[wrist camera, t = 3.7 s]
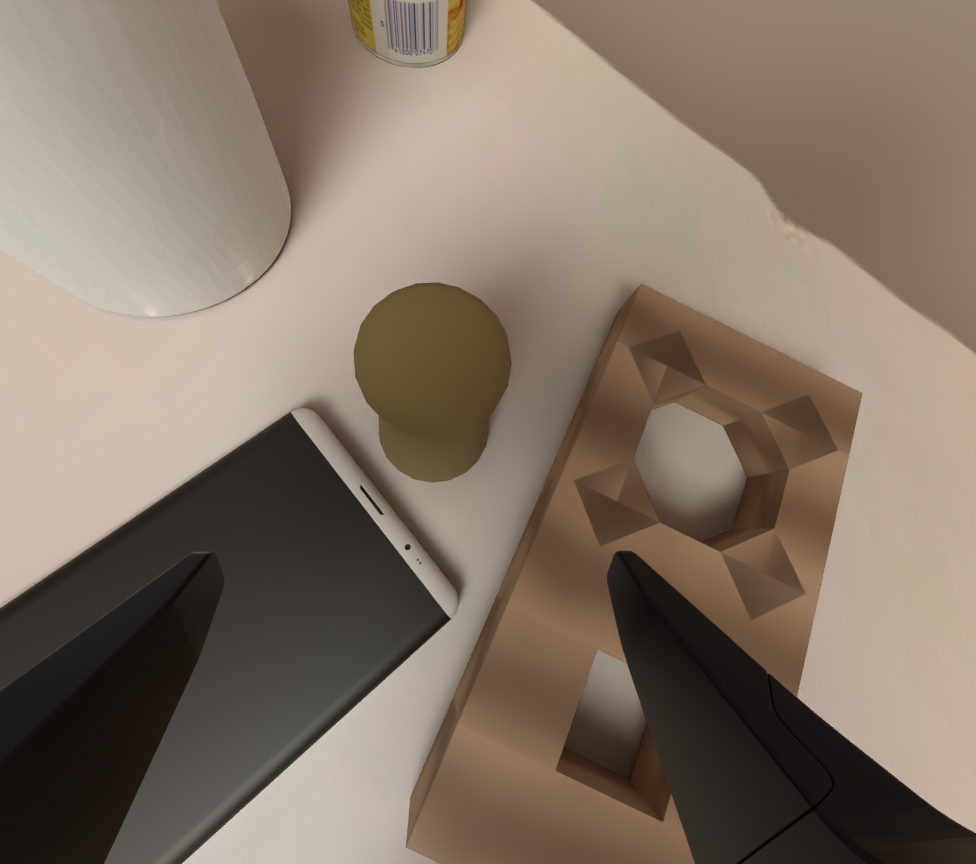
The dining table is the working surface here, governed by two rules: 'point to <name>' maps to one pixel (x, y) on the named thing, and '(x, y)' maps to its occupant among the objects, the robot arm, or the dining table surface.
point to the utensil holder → (134, 155)
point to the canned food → (409, 29)
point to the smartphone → (250, 621)
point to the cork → (432, 377)
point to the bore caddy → (587, 604)
